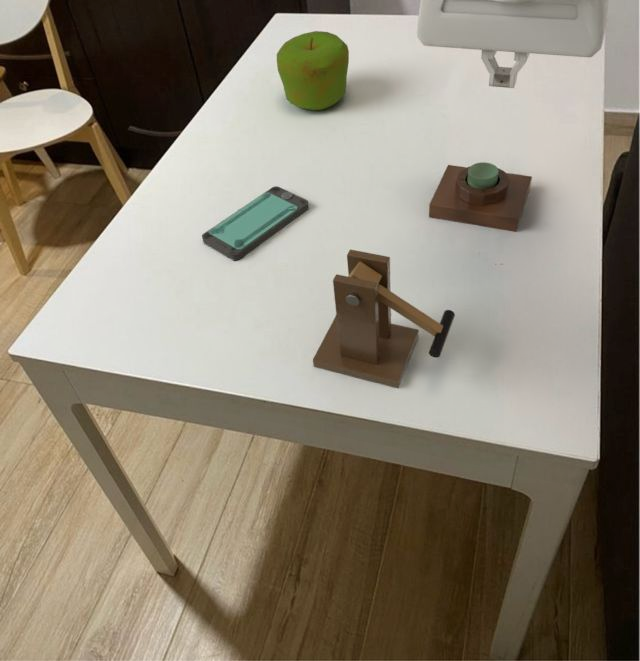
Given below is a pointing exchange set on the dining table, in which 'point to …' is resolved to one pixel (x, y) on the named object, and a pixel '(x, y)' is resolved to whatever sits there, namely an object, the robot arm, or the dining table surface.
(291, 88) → the apple
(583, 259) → the dining table surface
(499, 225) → the button block
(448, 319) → the switch lever
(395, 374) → the switch bracket
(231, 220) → the smartphone
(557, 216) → the dining table surface
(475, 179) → the light button
